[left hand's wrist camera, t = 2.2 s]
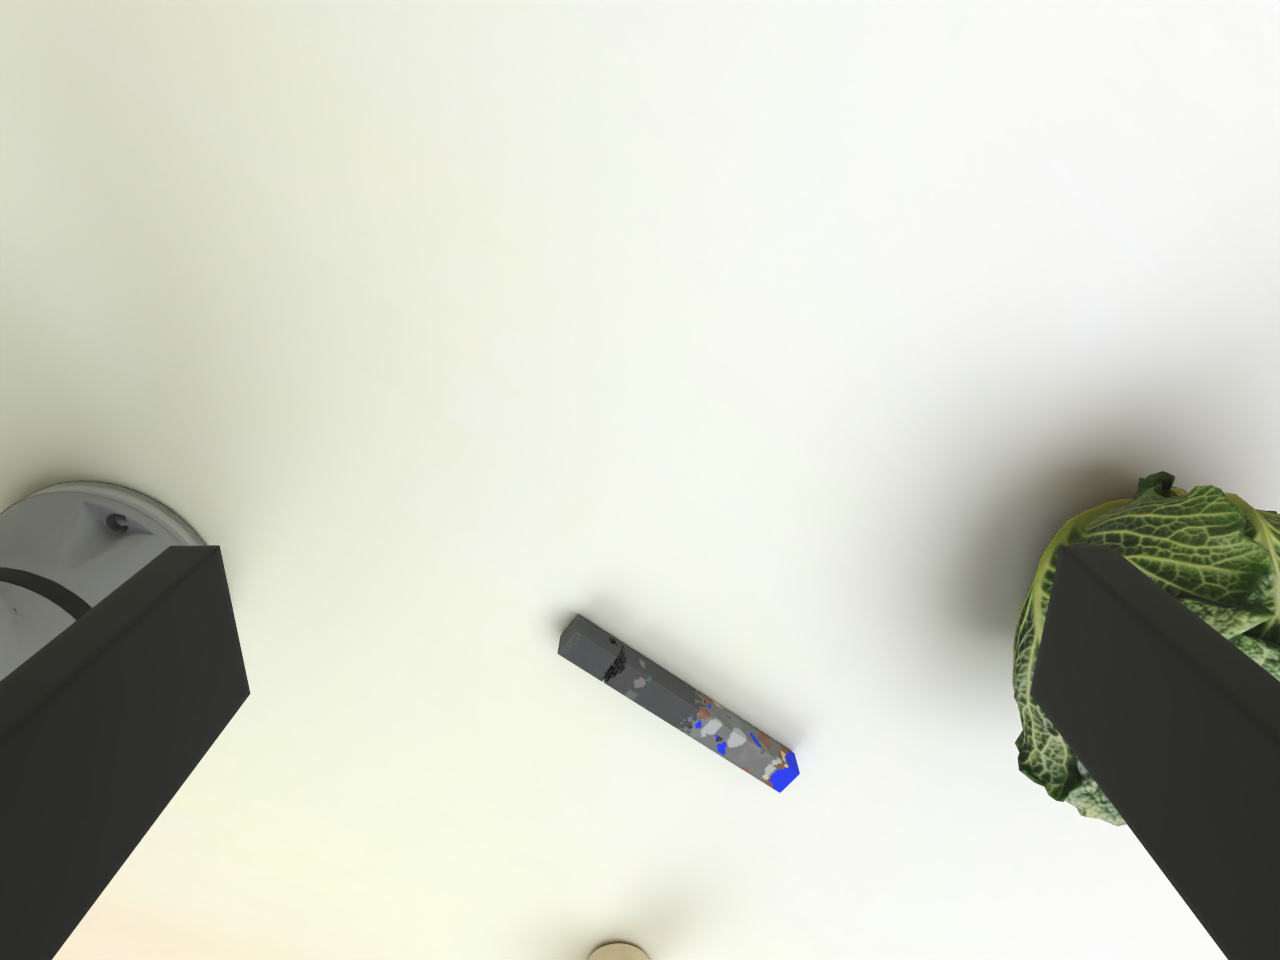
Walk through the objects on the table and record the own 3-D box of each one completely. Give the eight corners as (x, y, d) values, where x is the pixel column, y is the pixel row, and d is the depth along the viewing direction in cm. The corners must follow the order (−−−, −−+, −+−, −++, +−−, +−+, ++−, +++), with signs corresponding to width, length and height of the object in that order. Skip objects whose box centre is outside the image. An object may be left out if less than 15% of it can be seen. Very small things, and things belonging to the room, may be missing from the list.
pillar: (576, 631, 53) (803, 776, 58) (578, 614, 55) (797, 755, 60) (557, 653, 54) (783, 795, 58) (560, 636, 56) (778, 774, 60)
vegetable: (968, 554, 62) (955, 800, 48) (1100, 354, 47) (1132, 623, 34) (1241, 639, 59) (1307, 926, 45) (1467, 453, 45) (1660, 789, 31)
